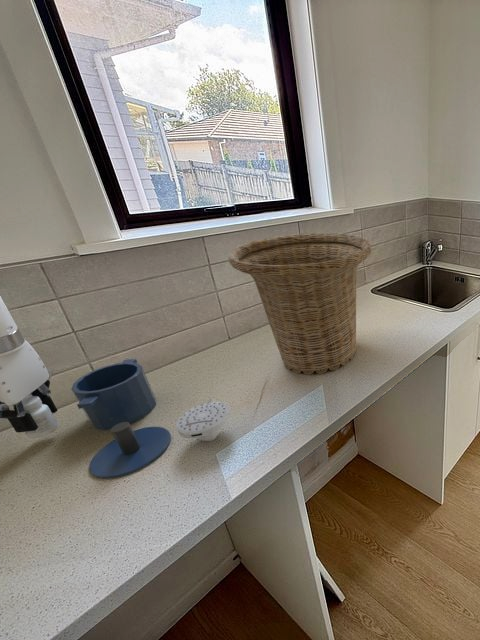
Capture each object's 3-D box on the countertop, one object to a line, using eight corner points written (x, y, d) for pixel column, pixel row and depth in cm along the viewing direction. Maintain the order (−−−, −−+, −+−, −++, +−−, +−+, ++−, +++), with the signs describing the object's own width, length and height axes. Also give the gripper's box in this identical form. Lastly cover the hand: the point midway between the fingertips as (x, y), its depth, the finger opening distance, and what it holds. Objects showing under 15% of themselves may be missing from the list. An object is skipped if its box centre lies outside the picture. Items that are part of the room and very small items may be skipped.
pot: (71, 445, 70) (46, 405, 65) (118, 394, 84) (101, 359, 80) (136, 435, 72) (116, 396, 67) (170, 388, 87) (156, 353, 82)
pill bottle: (37, 425, 71) (20, 396, 67) (64, 421, 72) (47, 392, 69) (22, 440, 67) (2, 410, 64) (50, 436, 68) (32, 406, 65)
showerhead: (233, 393, 74) (221, 424, 65) (241, 418, 77) (230, 451, 68) (185, 400, 71) (165, 433, 63) (195, 426, 75) (178, 461, 66)
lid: (75, 487, 61) (56, 458, 58) (115, 436, 72) (101, 410, 69) (154, 473, 63) (140, 445, 60) (182, 426, 74) (171, 400, 71)
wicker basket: (315, 408, 80) (291, 275, 66) (231, 365, 97) (197, 251, 82) (400, 345, 107) (397, 241, 92) (323, 320, 123) (310, 228, 109)
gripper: (6, 324, 67) (47, 397, 75) (-88, 371, 52) (-25, 456, 60) (52, 322, 69) (87, 393, 76) (-27, 366, 54) (27, 450, 62)
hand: (37, 420), depth 68 cm, fingers closed on pill bottle, 4 cm apart
